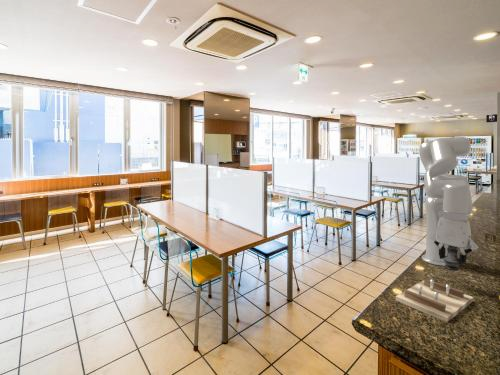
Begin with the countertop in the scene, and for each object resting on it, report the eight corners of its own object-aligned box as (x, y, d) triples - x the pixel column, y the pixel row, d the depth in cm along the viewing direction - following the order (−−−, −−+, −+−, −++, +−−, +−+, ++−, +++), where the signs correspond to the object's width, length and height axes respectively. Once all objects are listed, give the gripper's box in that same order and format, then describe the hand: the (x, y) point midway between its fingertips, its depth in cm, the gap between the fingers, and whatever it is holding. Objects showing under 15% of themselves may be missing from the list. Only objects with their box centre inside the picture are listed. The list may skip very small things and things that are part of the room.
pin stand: (423, 283, 107) (423, 270, 106) (472, 301, 94) (473, 286, 93) (395, 300, 96) (395, 285, 96) (447, 322, 83) (448, 305, 82)
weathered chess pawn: (438, 266, 107) (440, 237, 105) (448, 263, 109) (450, 234, 107) (454, 272, 102) (456, 242, 100) (464, 269, 104) (466, 239, 102)
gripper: (425, 213, 107) (423, 256, 110) (479, 222, 93) (475, 271, 96) (433, 210, 111) (432, 251, 114) (487, 218, 97) (483, 265, 100)
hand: (451, 260), depth 105 cm, fingers closed on weathered chess pawn, 5 cm apart
